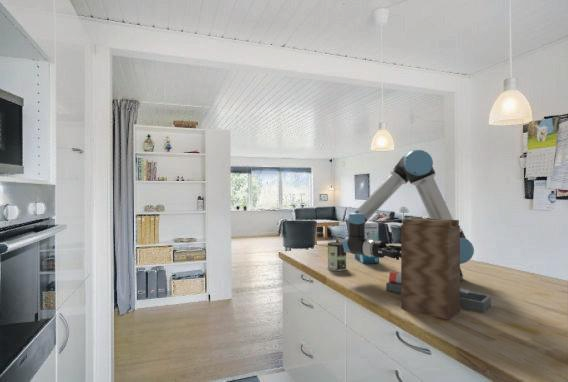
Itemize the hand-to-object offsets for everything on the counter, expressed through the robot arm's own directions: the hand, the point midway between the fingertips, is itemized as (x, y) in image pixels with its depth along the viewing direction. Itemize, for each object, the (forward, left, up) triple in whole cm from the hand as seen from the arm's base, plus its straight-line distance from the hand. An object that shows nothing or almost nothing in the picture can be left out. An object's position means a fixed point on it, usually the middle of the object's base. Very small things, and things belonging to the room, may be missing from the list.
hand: (423, 254), depth 133 cm
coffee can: (+27, -48, -17) cm, 57 cm away
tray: (-3, +3, -16) cm, 17 cm away
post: (+5, +16, -16) cm, 24 cm away
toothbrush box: (+5, -70, -17) cm, 72 cm away
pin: (-1, +1, -14) cm, 14 cm away
